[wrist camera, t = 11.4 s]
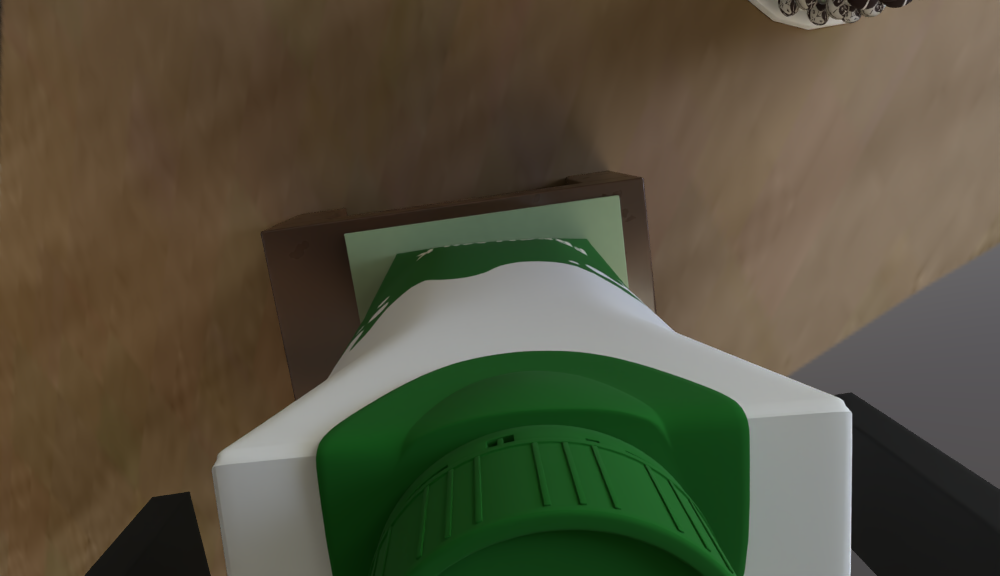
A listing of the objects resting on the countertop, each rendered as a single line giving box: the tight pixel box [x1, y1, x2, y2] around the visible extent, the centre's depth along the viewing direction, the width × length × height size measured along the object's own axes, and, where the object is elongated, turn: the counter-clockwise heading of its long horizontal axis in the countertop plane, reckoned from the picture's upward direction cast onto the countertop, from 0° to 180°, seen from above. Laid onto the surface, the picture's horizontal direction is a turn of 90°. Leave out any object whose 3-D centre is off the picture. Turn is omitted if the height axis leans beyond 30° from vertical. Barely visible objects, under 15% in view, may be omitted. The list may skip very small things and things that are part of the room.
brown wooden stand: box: [261, 171, 657, 401], centre depth 30 cm, size 11×14×7 cm
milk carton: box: [212, 238, 852, 576], centre depth 17 cm, size 9×9×20 cm
